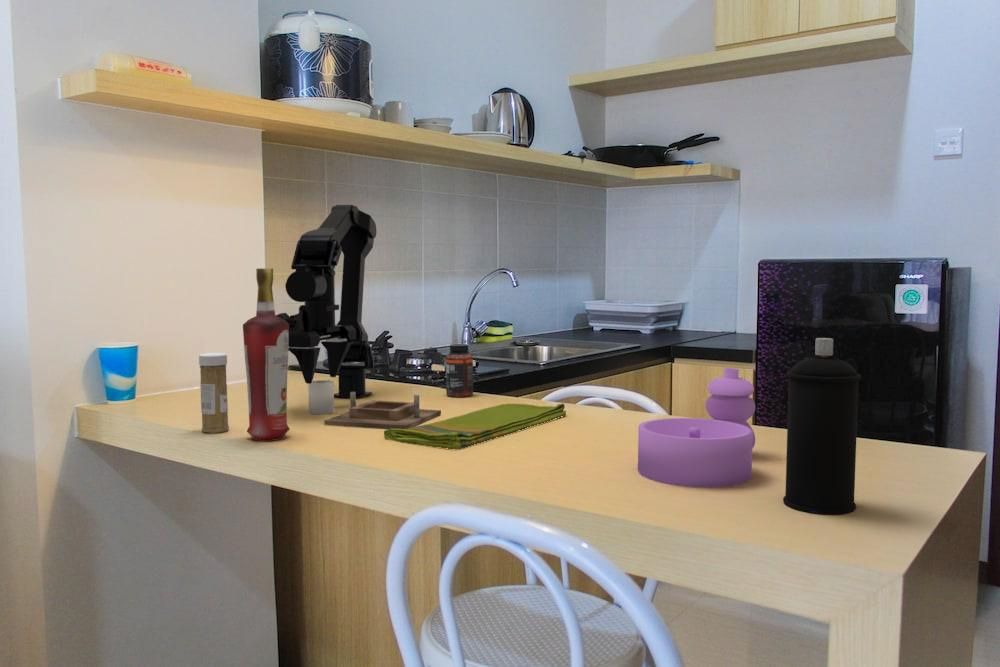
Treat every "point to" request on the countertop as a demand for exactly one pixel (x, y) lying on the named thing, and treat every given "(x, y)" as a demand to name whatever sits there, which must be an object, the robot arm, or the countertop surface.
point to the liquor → (266, 365)
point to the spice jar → (213, 392)
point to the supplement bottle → (459, 371)
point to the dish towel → (476, 426)
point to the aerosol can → (821, 433)
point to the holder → (383, 414)
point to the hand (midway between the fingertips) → (321, 380)
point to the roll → (321, 397)
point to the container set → (703, 440)
